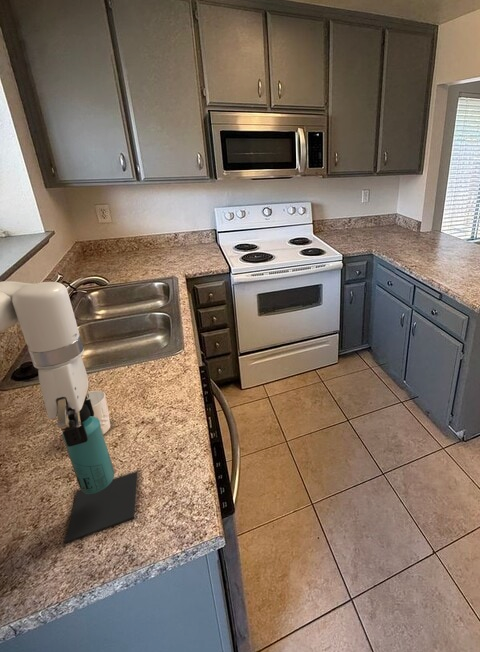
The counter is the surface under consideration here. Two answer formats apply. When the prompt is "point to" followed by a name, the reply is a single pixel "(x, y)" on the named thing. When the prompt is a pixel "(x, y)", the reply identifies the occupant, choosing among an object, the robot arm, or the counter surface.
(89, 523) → the corner mat
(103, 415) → the white cup
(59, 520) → the counter surface
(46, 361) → the robot arm
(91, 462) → the beverage bottle
